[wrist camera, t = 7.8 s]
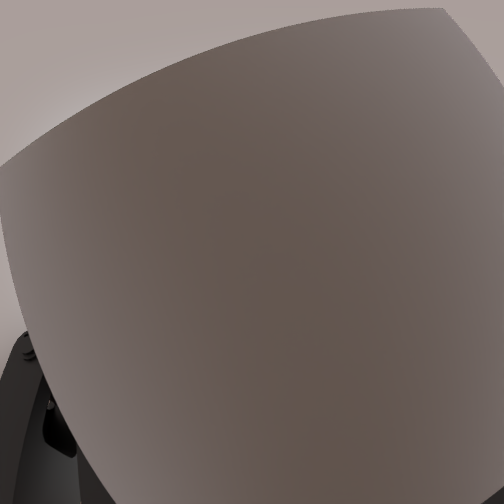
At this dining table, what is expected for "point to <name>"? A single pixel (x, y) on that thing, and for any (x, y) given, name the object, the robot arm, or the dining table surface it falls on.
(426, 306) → the silver-capped wooden peg
